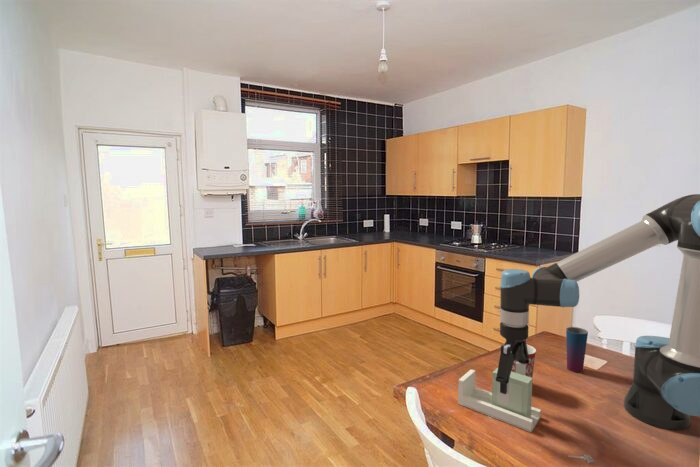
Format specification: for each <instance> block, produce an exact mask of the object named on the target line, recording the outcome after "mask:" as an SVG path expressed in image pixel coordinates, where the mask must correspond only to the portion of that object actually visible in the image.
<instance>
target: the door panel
mask: <svg viewBox="0 0 700 467" xmlns="http://www.w3.org/2000/svg"><path fill="white" fill-rule="evenodd" d="M497 371H498V367H496V368H495V370H493V371H492V382H491V393H492V405H495V406H497V407H500V408H503V409H505V410H508V411H511V412H513V413H516V414H519V415H522V416H524V417H527V418H530V417H531V407H532V403H533V402H532V401H533V400H532V399H533V398H532V396H533V379H534V378H533V377H532V378H531V377H528V376H525V375H521V374H518V373H515V372H511V374H510V378H509V382H510V404H509V405H507V404H504V403H501V402H499V382H498V381H496V377H497Z"/></svg>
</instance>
